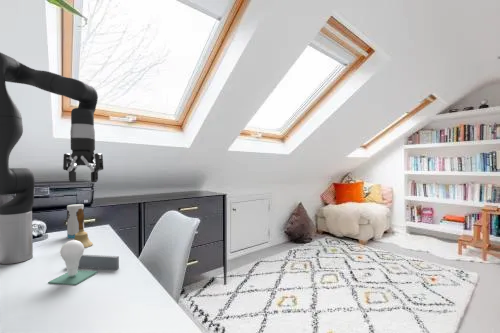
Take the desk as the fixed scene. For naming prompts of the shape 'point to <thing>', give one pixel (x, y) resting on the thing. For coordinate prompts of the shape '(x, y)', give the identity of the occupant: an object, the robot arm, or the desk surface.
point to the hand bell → (82, 230)
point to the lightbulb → (72, 255)
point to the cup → (73, 219)
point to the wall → (99, 262)
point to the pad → (73, 278)
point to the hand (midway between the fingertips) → (83, 182)
